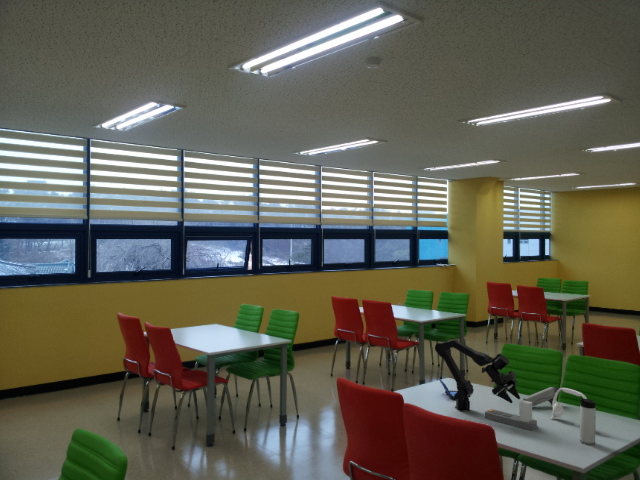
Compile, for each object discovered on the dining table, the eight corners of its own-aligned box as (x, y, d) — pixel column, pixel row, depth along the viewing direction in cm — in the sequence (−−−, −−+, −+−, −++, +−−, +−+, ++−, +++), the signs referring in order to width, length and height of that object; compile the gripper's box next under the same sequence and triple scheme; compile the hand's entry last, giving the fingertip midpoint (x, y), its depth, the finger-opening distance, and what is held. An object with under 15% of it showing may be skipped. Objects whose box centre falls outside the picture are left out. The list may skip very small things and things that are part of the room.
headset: (594, 429, 244) (594, 393, 245) (585, 432, 241) (585, 395, 241) (557, 417, 262) (558, 383, 262) (549, 419, 258) (549, 385, 259)
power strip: (484, 417, 259) (484, 410, 259) (491, 414, 265) (491, 407, 265) (530, 430, 242) (530, 423, 242) (536, 426, 248) (536, 419, 248)
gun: (562, 402, 284) (559, 385, 283) (528, 416, 275) (525, 399, 275) (558, 401, 286) (555, 384, 286) (525, 415, 278) (522, 398, 277)
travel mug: (576, 440, 231) (576, 397, 231) (589, 439, 231) (590, 397, 232) (584, 445, 224) (584, 401, 225) (598, 445, 225) (598, 401, 225)
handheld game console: (467, 400, 289) (467, 384, 289) (444, 400, 289) (444, 384, 289) (459, 392, 304) (460, 377, 305) (438, 392, 305) (438, 377, 305)
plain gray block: (519, 425, 248) (519, 402, 248) (523, 423, 251) (523, 400, 251) (528, 428, 245) (528, 404, 245) (532, 425, 248) (532, 402, 248)
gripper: (497, 369, 249) (519, 395, 241) (513, 363, 262) (534, 388, 254) (483, 381, 255) (503, 408, 246) (499, 375, 268) (519, 400, 260)
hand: (515, 400), depth 252 cm, fingers open, 9 cm apart
